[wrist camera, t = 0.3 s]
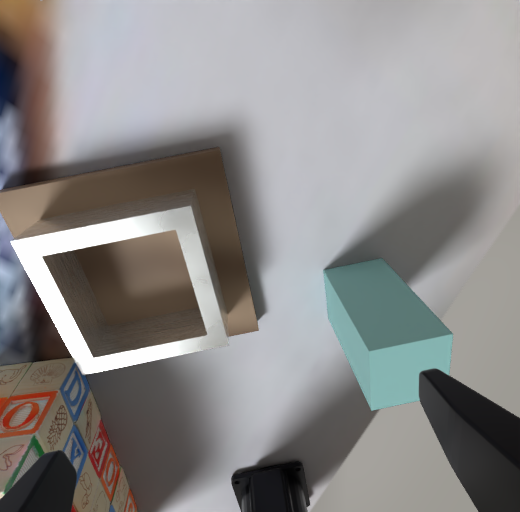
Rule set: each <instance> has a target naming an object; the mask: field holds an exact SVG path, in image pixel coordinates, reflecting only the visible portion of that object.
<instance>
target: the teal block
mask: <svg viewBox="0 0 520 512" xmlns="http://www.w3.org/2000/svg"><path fill="white" fill-rule="evenodd" d="M323 271H324V281H325V291H326V300H327V310H328V319H329V321H330V323H331V325H332V327H333V329H334V331H335V334H336V336H337V338H338V340H339V342H340V344H341V346H342V349H343V351H344V353H345V355H346V357H347V359H348V361H349V364H350V366H351V368H352V370H353V372H354V374H355V376H356V379H357V381H358V383H359V385H360V387H361V389H362V391H363V394H364V396H365V398H366V400H367V402H368V404H369V407H370V409H371V411H373V410H377V409H382V408H387V407H391V406H396V405H401V404H406V403H411V402H415V401H420V399H419V373H420V372H421V371H424V370H428V369H433V368H436V369H439V370H441V371H442V372H444V373H446V374H447V375H449V372H450V362H451V350H452V339H453V333H452V332H451V331H450V330H449V329H448V328H447V327H446V326H445V325H444V324H443V323H442V322H441V321H440V319H439V318H438V317H437V316H436V315H435V314H434V313H433V312H432V311H431V310H430V309H429V308H428V307H427V306H426V305H425V303H424V302H423V301H422V300H421V299H420V298H419V297H418V296H417V295H416V294H415V293H414V292H413V291H412V290H411V288H410V287H409V286H408V285H407V284H406V283H405V282H404V281H403V280H402V279H401V278H400V277H399V276H398V275H397V274H396V272H395V271H394V270H393V269H392V268H391V267H390V266H389V265H388V264H387V263H386V262H385V261H384V260H383V259H382V258H380V259H375V260H370V261H366V262H361V263H356V264H351V265H346V266H341V267H336V268H331V269H326V270H323Z"/></svg>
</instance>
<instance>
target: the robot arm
mask: <svg viewBox="0 0 520 512" xmlns="http://www.w3.org/2000/svg"><path fill="white" fill-rule="evenodd" d="M419 399H420V402H421V405H422V407H423V408H424V411H425V413H426V415H427V417H428V419H429V421H430V423H431V426H432V428H433V430H434V432H435V434H436V436H437V438H438V440H439V442H440V444H441V446H442V448H443V450H444V453H445V455H446V457H447V459H448V461H449V463H450V465H451V467H452V468H453V470H454V472H455V473H456V475H457V477H458V479H459V480H460V482H461V484H462V485H463V487H464V488H465V490H466V492H467V493H468V495H469V496H470V498H471V500H472V502H473V503H474V505H475V507H476V508H477V510H478V512H520V418H519V417H517V416H515V415H514V414H512V413H510V412H509V411H507V410H506V409H504V408H502V407H501V406H499V405H497V404H496V403H494V402H492V401H491V400H489V399H487V398H486V397H484V396H482V395H480V394H479V393H477V392H476V391H474V390H472V389H471V388H469V387H467V386H466V385H464V384H462V383H461V382H459V381H457V380H456V379H454V378H452V377H451V376H449V375H447V374H446V373H444V372H442V371H441V370H439V369H436V368H433V369H428V370H424V371H421V372H420V373H419ZM76 482H77V472H76V469H75V467H74V466H73V464H72V463H71V461H70V460H69V458H68V457H67V455H66V454H65V452H64V451H62V450H57V451H52V452H48V453H45V454H43V455H42V456H41V457H40V458H39V459H38V460H37V461H36V462H35V463H34V464H33V465H32V466H31V467H30V468H29V469H28V470H27V471H26V472H25V473H24V475H23V476H22V477H21V478H20V479H19V480H18V481H17V482H16V483H15V484H14V485H13V486H12V487H11V488H10V489H9V490H8V491H7V493H6V494H5V495H4V496H3V497H2V498H1V499H0V512H71V510H72V505H73V499H74V493H75V488H76ZM231 482H232V486H233V489H234V492H235V495H236V498H237V501H238V504H239V507H240V509H241V512H308V511H307V507H308V506H309V505H310V501H309V496H308V490H307V485H306V480H305V474H304V469H303V464H302V463H301V462H293V463H288V464H284V465H279V466H274V467H270V468H265V469H260V470H255V471H251V472H246V473H241V474H236V475H234V476H232V478H231Z"/></svg>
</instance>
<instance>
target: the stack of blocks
mask: <svg viewBox="0 0 520 512" xmlns="http://www.w3.org/2000/svg"><path fill="white" fill-rule="evenodd" d="M57 450H62V451H64V452H65V454H66V455H67V457H68V458H69V460H70V461H71V463H72V464H73V466H74V467H75V469H76V472H77V482H76V488H75V493H74V499H73V505H72V510H71V512H138V511H137V506H136V503H135V500H134V498H133V495H132V493H131V490H130V488H129V485H128V481H127V479H126V476H125V474H124V471H123V469H122V467H121V466H120V465H119V462H118V460H117V458H116V454H115V452H114V449H113V447H112V444H110V441H109V439H108V436H107V433H106V430H105V428H104V425H103V423H102V420H101V415H100V412H99V409H98V407H97V404H96V402H95V399H94V396H93V394H92V392H91V390H90V388H89V384H88V382H87V379H86V376H85V375H82V373H81V372H80V370H79V368H78V366H77V364H76V362H75V360H74V359H73V358H65V359H56V360H48V361H40V362H34V363H32V362H28V363H21V364H13V365H5V366H0V499H1V498H2V497H3V496H4V495H5V494H6V493H7V491H8V490H9V489H10V488H11V487H12V486H13V485H14V484H15V483H16V482H17V481H18V480H19V479H20V478H21V477H22V476H23V475H24V473H25V472H26V471H27V470H28V469H29V468H30V467H31V466H32V465H33V464H34V463H35V462H36V461H37V460H38V459H39V458H40V457H41V456H42V455H43V454H45V453H48V452H52V451H57Z"/></svg>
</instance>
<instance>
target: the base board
mask: <svg viewBox="0 0 520 512" xmlns="http://www.w3.org/2000/svg"><path fill="white" fill-rule="evenodd" d="M191 189H195V191H196V195H197V199H198V203H199V206H200V210H201V214H202V218H203V222H204V226H205V229H206V233H207V237H208V241H209V245H210V249H211V252H212V256H213V260H214V264H215V268H216V272H217V275H218V279H219V283H220V287H221V291H222V295H223V298H224V302H225V306H226V310H227V314H228V335H229V336H234V335H239V334H244V333H249V332H254V331H259V329H258V322H257V318H256V313H255V308H254V304H253V299H252V295H251V290H250V285H249V281H248V276H247V272H246V267H245V262H244V258H243V253H242V248H241V244H240V239H239V235H238V230H237V225H236V221H235V216H234V212H233V207H232V202H231V198H230V193H229V189H228V184H227V179H226V175H225V170H224V165H223V161H222V156H221V152H220V147H216V148H211V149H206V150H201V151H195V152H190V153H185V154H180V155H175V156H170V157H165V158H160V159H155V160H150V161H144V162H139V163H134V164H129V165H124V166H119V167H114V168H109V169H104V170H98V171H93V172H88V173H83V174H78V175H73V176H68V177H63V178H58V179H52V180H47V181H42V182H37V183H32V184H27V185H22V186H17V187H12V188H6V189H2V190H0V212H1V214H2V216H3V218H4V220H5V222H6V224H7V226H8V228H9V229H10V231H11V233H12V235H13V237H14V238H16V237H17V236H18V235H20V234H21V233H22V232H24V231H25V230H26V229H28V228H29V227H30V226H32V225H33V224H34V223H36V222H37V221H38V220H40V219H44V218H49V217H54V216H59V215H64V214H69V213H74V212H80V211H85V210H90V209H95V208H100V207H105V206H110V205H115V204H120V203H125V202H130V201H135V200H140V199H145V198H150V197H155V196H161V195H166V194H171V193H176V192H181V191H186V190H191ZM74 252H75V254H76V256H77V258H78V260H79V263H80V265H81V267H82V269H83V271H84V274H85V276H86V278H87V280H88V282H89V285H90V287H91V289H92V291H93V293H94V296H95V298H96V300H97V302H98V304H99V306H100V309H101V311H102V313H103V315H104V317H105V320H106V322H107V324H108V326H109V325H114V324H119V323H124V322H129V321H134V320H139V319H144V318H149V317H154V316H159V315H164V314H168V313H173V312H178V311H183V310H188V309H193V308H198V307H199V305H198V301H197V298H196V295H195V292H194V288H193V285H192V282H191V278H190V275H189V272H188V268H187V265H186V262H185V258H184V255H183V252H182V249H181V245H180V242H179V239H178V235H177V232H176V230H171V231H166V232H161V233H156V234H151V235H146V236H141V237H136V238H130V239H125V240H120V241H115V242H110V243H105V244H100V245H95V246H90V247H85V248H80V249H75V250H74Z"/></svg>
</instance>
